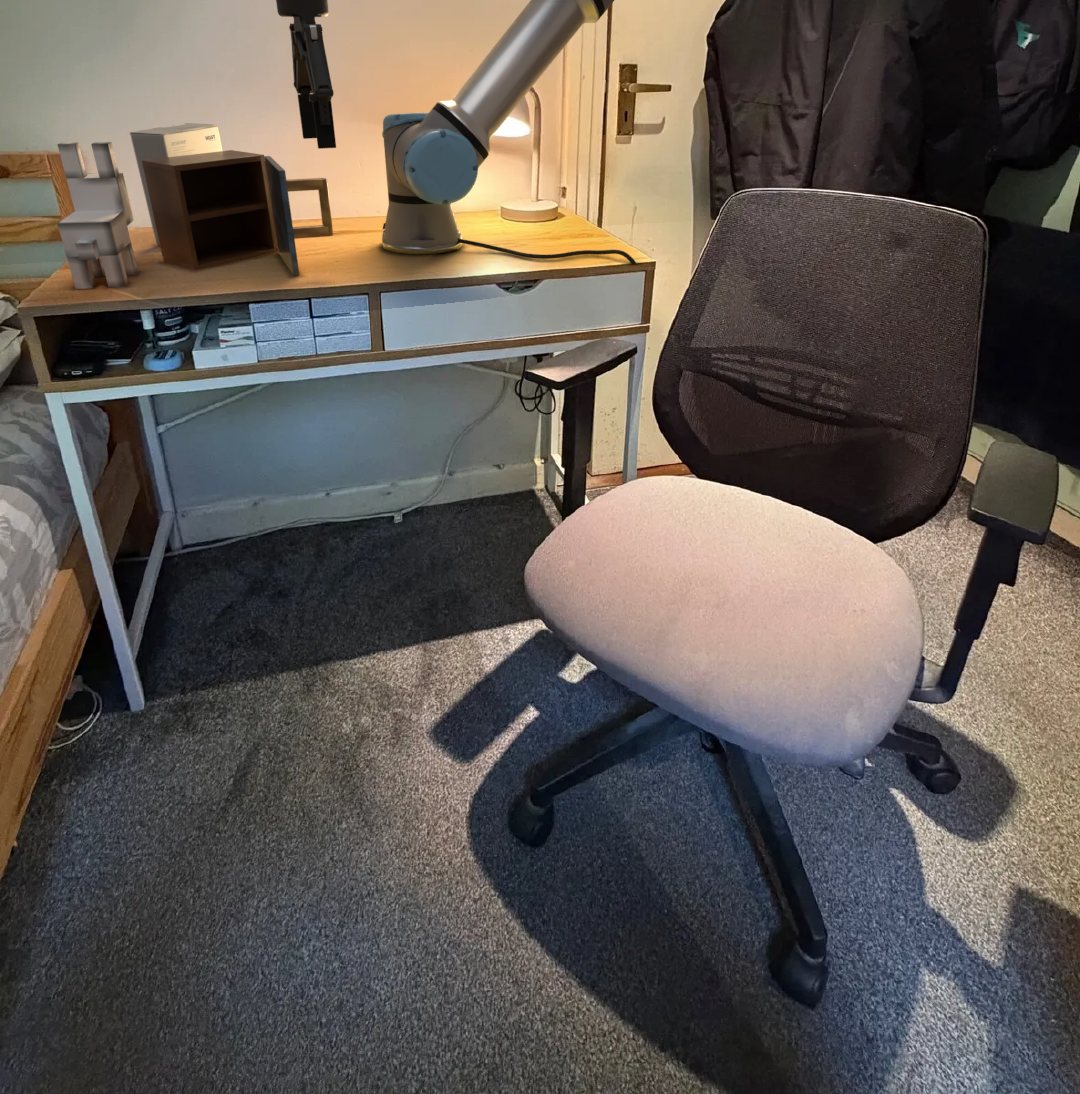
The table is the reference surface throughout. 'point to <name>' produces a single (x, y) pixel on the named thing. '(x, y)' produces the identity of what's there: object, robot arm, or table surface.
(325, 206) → the cupboard door
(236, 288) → the table surface
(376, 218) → the table surface
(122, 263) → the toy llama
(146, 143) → the hard drive box
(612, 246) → the table surface
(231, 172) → the cupboard
